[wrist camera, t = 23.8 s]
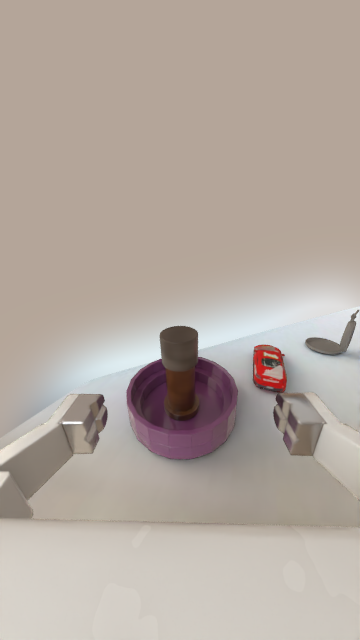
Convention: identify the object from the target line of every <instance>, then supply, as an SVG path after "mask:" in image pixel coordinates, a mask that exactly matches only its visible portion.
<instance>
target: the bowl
mask: <svg viewBox="0 0 360 640" xmlns="http://www.w3.org/2000/svg"><path fill="white" fill-rule="evenodd" d="M195 393H196V394H197V396H198V398H199V411H198V413H197V414H196V415H195V416H194V417H193V418H191V419H189V420H185V421H178V420H174V419H172V418H170V417H169V416H168V415H167V414H166V412H165V408H164V399H165V397H166V395H167V382H166V369H165V367H164V366H163V364H162V359H159V360H157V361H154V362H151V363H150V364H148V365H147V366H145V367H144V368H142V369H140V370H139V371H138V373H137V374H136V375H135V376H134V377H133V378H132V379H131V381H130V384H129V386H128V389H127V407H128V413H129V418H130V424H131V427H132V429H133V431H134V433H135V435H136V437H137V439H138V440H139V441H140V442H141V443H142V444H143V445H144V446H146V447H147V448H148V449H149V450H150V451H152V452H153V453H156V454H159V455H161V456H164V457H167V458H170V459H193V458H196V457H199V456H202V455H205V454H208V453H211V452H213V451H214V450H215V449H216V448H218V447H219V446H220V445H221V444H223V443H224V442H225V441H226V440H227V438H228V437H229V435H230V433H231V431H232V430H233V428H234V424H235V415H236V405H237V395H238V390H237V387H236V384H235V381H234V379H233V377H232V376H231V375H230V374H229V373H228V372H227V370H226V369H224V368H223V367H221V366H220V365H218V364H217V363H215V362H213V361H210V360H208V359H205V358H202V357H198V363H197V365H196V366H195Z"/></svg>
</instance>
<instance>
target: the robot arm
mask: <svg viewBox="0 0 360 640" xmlns="http://www.w3.org/2000/svg"><path fill="white" fill-rule="evenodd" d="M104 401H105V400H104V397H103V395H101V394H70V395H68V396H67V397H66V398H65V400H64V401H63V402H62V404H61V405H60V406H59V407H58V409H57V410H56V411H55V412H54V414H53V415H52V416H51V417H50V419H49V420H48V421H47V423H46V424H41V425H39V426H38V427H36V428H35V429H33V430H31V431H30V432H28V433H27V434H25V435H24V436H22V437H20V438H19V439H17V440H16V441H14V442H13V443H11V444H9V445H8V446H6V447H5V448H3V449H2V450H0V640H360V527H339V526H301V525H263V524H225V523H186V522H147V521H108V520H68V519H31V518H32V516H33V509H32V508H31V506H30V505H29V503H28V501H27V500H28V499H29V498H30V497H31V496H32V495H33V494H34V493H36V492H37V491H38V490H39V489H40V488H41V487H42V486H43V485H44V484H45V483H46V482H47V481H48V480H49V479H50V478H51V477H52V476H53V475H54V474H55V473H56V472H57V471H58V470H59V469H60V468H61V467H62V466H63V465H64V464H65V463H66V462H67V461H68V460H69V459H70V458H71V457H72V456H73V454H92V453H93V452H94V449H95V447H96V445H97V443H98V441H99V435H98V434H99V433H100V432H101V431H102V430H103V429H104V427H105V425H106V421H107V408H106V407H105V406H104V405H103V403H104ZM276 401H277V403H278V404H277V405H276V406H275V407H274V412H273V414H274V420H275V424H276V426H277V428H278V430H279V431H281V432H282V433H283V434H284V437H283V440H284V442H285V444H286V446H287V448H288V450H289V452H290V454H291V455H299V456H313V458H314V459H315V460H316V461H317V462H318V463H319V464H320V465H321V466H323V467H324V468H325V469H326V470H327V471H328V472H329V473H330V474H331V475H332V476H333V477H334V478H335V479H337V480H338V481H339V482H340V483H341V484H342V485H343V486H344V487H345V488H346V489H347V490H348V491H349V492H350V493H352V494H353V495H354V496H355V497H356V498H357V499H358V500H359V501H360V432H358V431H357V430H355V429H353V428H352V427H350V426H348V425H347V424H341V422H340V421H339V420H338V419H337V418H336V417H335V416H334V414H333V413H332V412H331V411H330V410H329V409H328V407H327V406H326V405H325V404H324V403H323V402H322V400H321V399H320V398H319V397H318V396H317V395H316V394H315V393H313V392H307V393H278V394H277V396H276Z"/></svg>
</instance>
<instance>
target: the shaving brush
mask: <svg viewBox="0 0 360 640" xmlns="http://www.w3.org/2000/svg"><path fill="white" fill-rule="evenodd" d="M160 344H161V356H162V364H163V366H164V367H165V369H166V382H167V395H166V397H165V399H164V408H165V412H166V414H167V415H168V416H169V417H170V418H172V419H174V420H178V421H185V420H189V419H191V418H193V417H194V416H195V415H196V414H197V413H198V411H199V398H198V396H197V394H196V393H195V366H196V365H197V363H198V332H197V331H196V330H195V329H193V328H190V327H186V326H174V327H170V328H167V329H165V330H163V331H162V332H161V333H160Z"/></svg>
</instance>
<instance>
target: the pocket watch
mask: <svg viewBox="0 0 360 640" xmlns="http://www.w3.org/2000/svg"><path fill="white" fill-rule="evenodd" d="M358 312H359V310H357V312H356V313H354V314H352V316H351V320H350V321H349V322H348V324H347V326H346V328H345V331H344V334H343V336H342V340H341V343H340V345H339V344H337V343H335V342H333V341H331V340H327V339H323V338H308V339H306V342H305V343H306V345H307V347H309V348H310V349H312V350H314V351H317V352H320V353H324V354H339V353H340V352H341V351H342V352H346V350H347V348H348V346H349V344H350V341H351V338H352V336H353V333H354V330H355V326H356V322H355V321H354V319H355V318H356V314H357V313H358Z"/></svg>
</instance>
